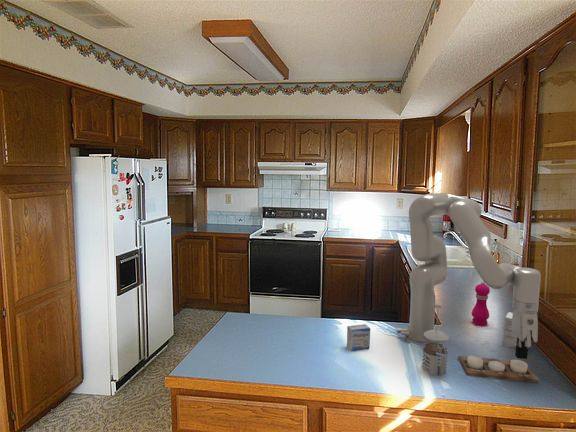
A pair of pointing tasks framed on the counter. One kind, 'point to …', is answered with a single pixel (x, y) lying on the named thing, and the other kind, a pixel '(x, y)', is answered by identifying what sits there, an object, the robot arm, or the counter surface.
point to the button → (496, 366)
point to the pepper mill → (481, 305)
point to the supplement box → (509, 332)
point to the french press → (435, 350)
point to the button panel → (497, 374)
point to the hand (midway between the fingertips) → (521, 357)
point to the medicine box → (358, 337)
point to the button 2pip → (518, 366)
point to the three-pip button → (474, 362)
